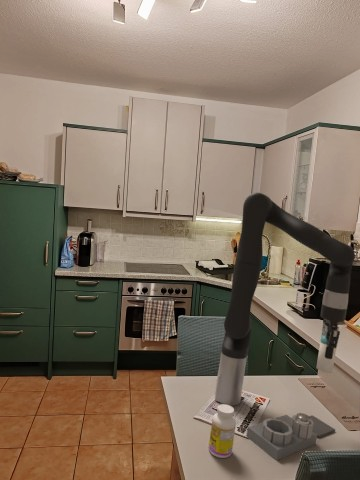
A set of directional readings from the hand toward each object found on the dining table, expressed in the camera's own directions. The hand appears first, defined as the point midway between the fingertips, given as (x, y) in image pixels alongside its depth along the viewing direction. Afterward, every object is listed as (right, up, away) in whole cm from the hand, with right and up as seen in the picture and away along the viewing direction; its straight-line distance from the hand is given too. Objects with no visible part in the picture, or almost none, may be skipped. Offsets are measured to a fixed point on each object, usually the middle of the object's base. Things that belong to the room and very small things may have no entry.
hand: (326, 355), depth 123 cm
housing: (-17, -24, -8) cm, 30 cm away
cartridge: (-1, -5, 0) cm, 5 cm away
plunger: (-11, -21, -8) cm, 25 cm away
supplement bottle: (-37, -22, -17) cm, 46 cm away
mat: (-3, -25, +2) cm, 25 cm away
